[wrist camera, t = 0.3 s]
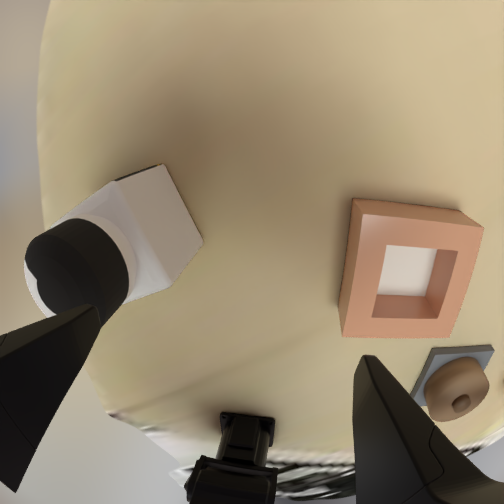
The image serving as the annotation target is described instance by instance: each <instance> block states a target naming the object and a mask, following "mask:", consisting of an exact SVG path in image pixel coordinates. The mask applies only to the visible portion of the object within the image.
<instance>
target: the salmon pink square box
mask: <svg viewBox="0 0 504 504" xmlns="http://www.w3.org/2000/svg"><path fill="white" fill-rule="evenodd" d="M483 231H484V227H482V226H481V225H480V224H478V223H477V222H475V221H474V220H472V219H471V218H470V217H468V216H467V215H465V214H464V213H462V212H461V211H459V210H452V209H445V208H437V207H430V206H422V205H414V204H406V203H397V202H388V201H378V200H368V199H357V198H352V208H351V218H350V226H349V235H348V243H347V250H346V258H345V265H344V271H343V278H342V284H341V290H340V296H339V302H338V311H339V318H340V325H341V333H342V337H363V338H449V336H450V334H451V332H452V329H453V327H454V324H455V322H456V319H457V316H458V314H459V311H460V308H461V306H462V303H463V300H464V297H465V294H466V291H467V288H468V285H469V282H470V279H471V276H472V273H473V269H474V266H475V262H476V259H477V255H478V251H479V247H480V244H481V239H482V235H483Z"/></svg>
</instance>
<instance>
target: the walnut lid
mask: <svg viewBox="0 0 504 504" xmlns="http://www.w3.org/2000/svg"><path fill="white" fill-rule="evenodd" d="M488 390H489V381H488V379H487V377H486V375H485V373H484V371H483V369H482V368H481V366H480V364H479V362H478V360H476V359H475V358H473V357H461V358H457V359H454V360H452V361H450V362H448V363H446V364H444V365H443V366H441V367H440V368H439V369H437V370H436V371H435V372H434V373H433V374H432V375H431V376H430V377H429V379H428V380H427V382H426V383H425V386H424V390H423V393H424V397H425V400H426V404H427V407H428V410H429V414H430V417H431V418H432V419H433V420H435V421H439V422H445V421H451V420H454V419H457V418H459V417H462V416H464V415H465V414H467V413H469V412H470V411H472V410H473V409H474V408H475V407H477V406H478V405H479V404H480V403H481V402H482V400H483V399H484V398H485V396H486V395H487V393H488Z"/></svg>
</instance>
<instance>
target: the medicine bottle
mask: <svg viewBox="0 0 504 504" xmlns="http://www.w3.org/2000/svg"><path fill="white" fill-rule="evenodd" d="M202 245H203V239H202V237H201V235H200V233H199V231H198V230H197V228H196V226H195V224H194V222H193V220H192V218H191V216H190V214H189V212H188V210H187V208H186V206H185V204H184V202H183V200H182V198H181V196H180V195H179V193H178V191H177V189H176V187H175V185H174V183H173V181H172V179H171V177H170V175H169V173H168V171H167V169H166V167H165V165H164V164H157V165H154V166H151V167H149V168H146V169H143V170H140V171H137V172H134V173H132V174H129V175H126V176H124V177H121V178H118V179H116V180H113V181H111V182H109V183H108V184H106V185H105V186H104V187H102V188H101V189H99V190H98V191H96V192H95V193H94V194H92V195H91V196H89V197H88V198H87V199H85V200H84V201H83V202H81V203H80V204H78V205H77V206H76V207H74V208H73V209H72V210H70V211H69V212H68V213H67V214H65V215H64V216H63V217H61V218H60V219H59V220H58V221H56V222H55V223H54V224H53V225H52V226H51V227H50V229H49V230H48V231H46V232H44V233H42V234H41V235H39V236H37V237H35V238H34V239H33V240H32V241H31V242H30V244H29V246H28V248H27V251H26V255H25V260H24V272H25V278H26V282H27V285H28V288H29V290H30V293H31V295H32V297H33V299H34V301H35V302H36V304H37V305H38V307H39V308H40V310H41V311H42V312H43V313H44V315H45V316H46V317H47V318H49V317H51V316H54V315H57V314H59V313H62V312H65V311H67V310H70V309H73V308H76V307H78V306H81V305H84V304H90V305H94V306H96V308H97V310H98V314H99V319H100V323H101V328H102V326H103V325H104V324H105V323H106V322H107V321H108V319H109V318H110V317H111V316H112V315H113V314H114V313H115V311H116V310H117V309H118V308H119V307H120V306H121V305H122V304H125V303H128V302H131V301H134V300H136V299H139V298H142V297H145V296H148V295H150V294H153V293H156V292H159V291H161V290H164V289H167V288H169V287H170V286H172V284H173V283H174V282H175V280H176V279H177V278H178V276H179V275H180V274H181V272H182V271H183V270H184V268H185V267H186V266H187V265H188V263H189V262H190V261H191V259H192V258H193V257H194V255H195V254H196V253H197V252H198V250H199V249H200V248H201V246H202Z"/></svg>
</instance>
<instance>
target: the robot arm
mask: <svg viewBox="0 0 504 504" xmlns="http://www.w3.org/2000/svg"><path fill="white" fill-rule="evenodd" d="M100 329H101V323H100V319H99V314H98V310H97V308H96V306H94V305H90V304H84V305H81V306H78V307H76V308H73V309H70V310H67V311H65V312H62V313H59V314H57V315H54V316H51V317H49V318H46V319H43V320H41V321H38V322H35V323H33V324H30V325H27V326H25V327H22V328H19V329H17V330H14V331H11V332H9V333H8V334H7V333H6V334H3V335H1V336H0V481H1V482H2V483H3V484H4V485H6V486H7V487H8V488H10V489H11V490H12V491H13V492H15V493H16V491H17V489H18V488H19V485H20V483H21V481H22V479H23V476H24V474H25V472H26V470H27V468H28V466H29V464H30V462H31V459H32V458H33V456H34V453H35V452H36V450H35V449H37V447H38V445H39V443H40V441H41V439H42V437H43V436H44V434H45V432H46V430H47V428H48V426H49V424H50V422H51V420H52V419H53V417H54V415H55V413H56V411H57V409H58V408H59V406H60V404H61V402H62V400H63V398H64V397H65V395H66V393H67V392H68V390H69V388H70V387H71V385H72V383H73V381H74V380H75V378H76V376H77V375H78V373H79V371H80V370H81V368H82V366H83V365H84V363H85V361H86V359H87V357H88V355H89V352H90V350H91V348H92V346H93V344H94V342H95V340H96V338H97V336H98V334H99V332H100ZM352 421H353V437H354V453H355V474H356V504H504V483H503V482H498V481H495V480H493V479H490V478H489V477H487V476H486V475H485V474H483V473H482V472H481V471H480V470H479V469H478V468H477V467H476V466H475V465H474V464H473V463H472V462H471V461H470V460H469V459H468V458H467V457H466V456H465V455H464V454H462V453H461V452H460V451H459V450H458V449H457V448H456V447H455V446H454V445H453V444H452V443H451V441H450V440H449V439H448V438H447V437H446V436H445V435H444V434H443V433H442V431H441V430H440V429H439V428H438V427H437V426H436V425H435V423H434V422H433V421H432V420H431V419H430V417H429V416H428V415H427V414H426V413H425V412H424V411H423V409H422V408H421V407H420V406H419V405H418V404H417V402H416V401H415V400H414V399H413V398H412V397H411V396H410V394H409V393H408V392H407V391H406V390H405V389H404V388H403V386H402V385H401V384H400V383H399V382H398V381H397V380H396V378H395V377H394V376H393V375H392V374H391V373H390V372H389V371H388V369H387V368H386V367H385V366H384V365H383V364H382V363H381V362H380V360H379V359H378V358H377V357H376V356H374V355H363V356H362V357H361V359H360V361H359V364H358V366H357V369H356V371H355V374H354V383H353V416H352ZM220 423H221V431H222V438H221V441H220V445H219V448H218V452H217V455H216V459H214V458H210V457H206V456H204V455H201V457H200V459H199V460H197V461H196V464H195V467H194V470H193V472H192V474H191V475H190V477H189V478H188V480H187V481H186V483H185V485H184V488H185V490H186V491H187V501H188V502H190V503H189V504H274V501H275V494H276V485H277V474H278V468H275V467H273V468H269V467H265V466H266V459H267V453H268V447H272V445H273V437H274V429H275V420H274V419H271V418H262V417H253V416H245V415H238V414H231V413H224V412H223V413H221V414H220ZM434 425H435V426H434Z"/></svg>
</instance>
